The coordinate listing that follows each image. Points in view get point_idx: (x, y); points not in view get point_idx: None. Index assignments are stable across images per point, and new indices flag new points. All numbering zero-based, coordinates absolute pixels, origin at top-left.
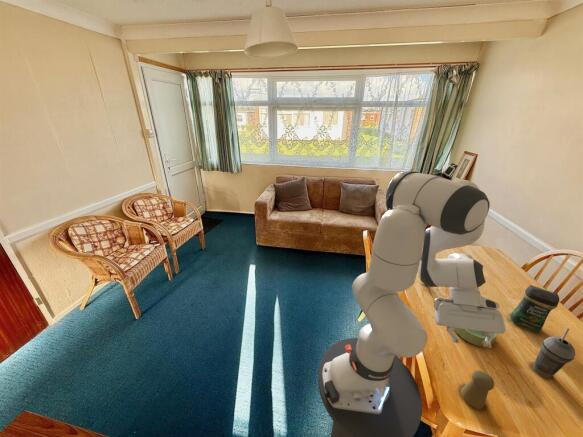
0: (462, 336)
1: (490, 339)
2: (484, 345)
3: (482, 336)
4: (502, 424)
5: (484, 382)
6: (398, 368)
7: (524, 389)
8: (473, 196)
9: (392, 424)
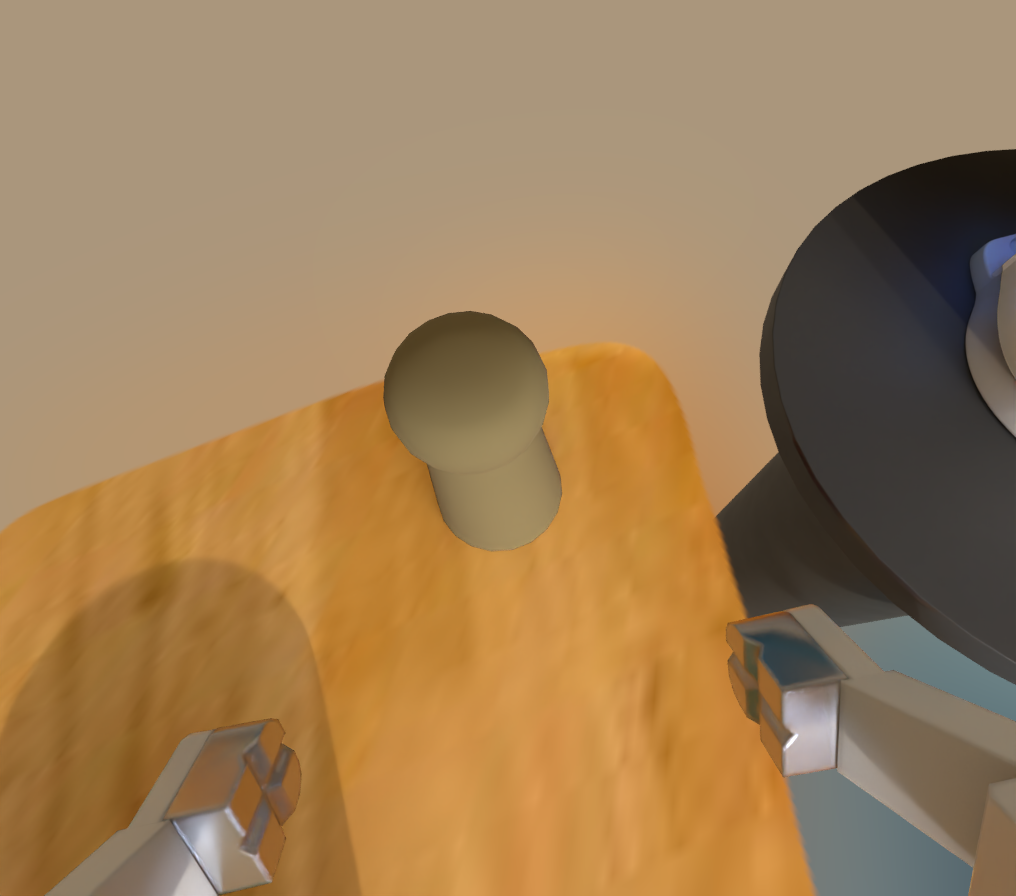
0: None
1: (87, 882)
2: (281, 766)
3: None
4: None
5: (480, 313)
6: (967, 548)
7: (114, 693)
8: None
9: (900, 240)
